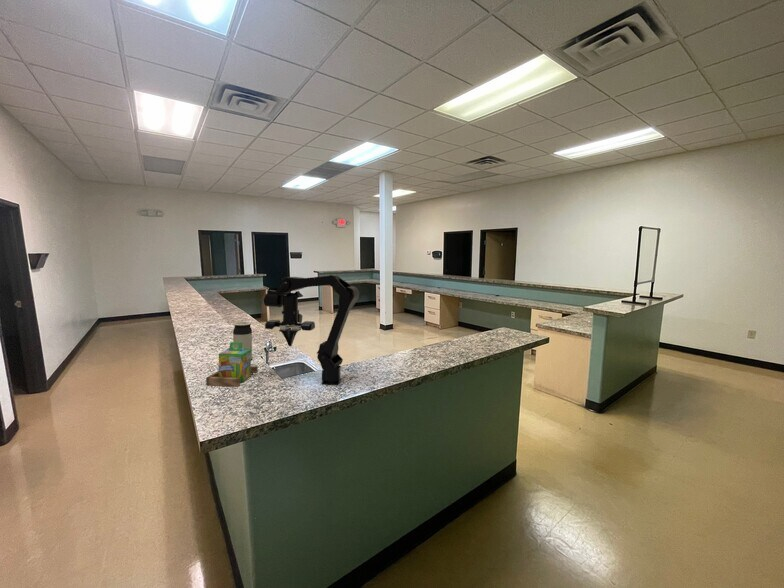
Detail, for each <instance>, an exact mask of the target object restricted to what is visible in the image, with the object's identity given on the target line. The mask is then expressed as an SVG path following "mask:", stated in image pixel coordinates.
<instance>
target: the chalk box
mask: <svg viewBox="0 0 784 588" xmlns="http://www.w3.org/2000/svg"><path fill="white" fill-rule="evenodd" d="M234 345H238V346H239V347H238V348H233V346H234ZM251 363H252V360H251V349H247V348H242V342H233V341H231V342H229V348H227V349H225V350H223V351H222V352H219V353H218V371H219V377H228V378H240V384H243V383H244V382H245V381H246V380H247V379H248V378H249V377H251V375H252V374H251V366H252V364H251Z"/></svg>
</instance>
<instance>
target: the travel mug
mask: <svg viewBox="0 0 784 588" xmlns="http://www.w3.org/2000/svg"><path fill="white" fill-rule="evenodd" d="M233 325H234V328H233V330H232V336H233V338H232V342H242V348H247V349H251V359H252V360H253V329H252V327H251V326H252V322H251V321H238V322H233ZM238 347H239V346H238V345H234V346H233V348H238Z"/></svg>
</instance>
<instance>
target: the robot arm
mask: <svg viewBox="0 0 784 588" xmlns="http://www.w3.org/2000/svg"><path fill="white" fill-rule="evenodd" d="M323 286H331V288H332V289H333V290H334V292H335V293H336V294H338V296H339V297H338V309H337V311H336V315H335V317H334V319H333V323H332V325H331V328H330V331H329V334H328V337H327V339H326V340H325V341H323V342H322V343H320V344H319V346H318V350H317V351H316V358H317V360H318V362H319V363H320V367H321V368H322V370H321V381H322V382H321V384H322V385H334V386H335V385H339V384H340V382H341V380H342V378H341V372H342V371H341V370H342V369H341V367H342V366H341V365H342V364H343V360H344V359H343V358H342V357H341V355H340V354H339V341H340V339H341V336H342V333H343V330H344V328H345V325H346V322H347V319H348V316H349V313H350V311H351V309H352V308H353V307H354V306H355V304H356V303H357V300H358V299H359V297H360V291H359V289H358V287H356V286H352V284H350V283H349V282H347V281H345V280H344V279H342V278H341V277H340V276H339V275H337V274H330V275H324V276H314V277H302V276H301V277H300V276H285V277H283V278H281V280H280V284H279V285H278V287H277V289H276V290H273V289H267V290H266V293H265V295H264V298H263V305H264V306H265V307H269V308H270V307H271V308H281V307H282V311H281V314H282V321H281V320H280V319H269V320H267V321H266V322H265V324H264V329H265V330H273V329H274V328H279V330H278V332H279V333H280V332H281V334H282V336H283V337H284V339H285V342H286V343H287V345H288V347H292V346H293V343H294V340H295V338H296V335H297V334H298V332H299V331H300V332H301V330H302V331H306V332H307V331H313V330H314V329H315V328H316V323H315V321H311V320H310V321H309V320H306V321H303V314H301V313H300V309H299V299H300V298H303V297H304V295H303V294H302V293H301V292H300V291H299V290H303V289H305V288H311V287H323Z"/></svg>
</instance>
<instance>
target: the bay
mask: <svg viewBox="0 0 784 588" xmlns="http://www.w3.org/2000/svg"><path fill="white" fill-rule="evenodd" d="M258 369H259V368H258V366H257V365H251V373H257V372H259V371H258ZM257 374H258V373H257ZM205 382H206V384H205V386H207V387H208V386H210V387H229V388H231V387H232V388H239V387H240V385H241V383H240V378H228V377H219V370H218V371H216V372H214V373H212V374H210V375H208V376H206V378H205Z"/></svg>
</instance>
